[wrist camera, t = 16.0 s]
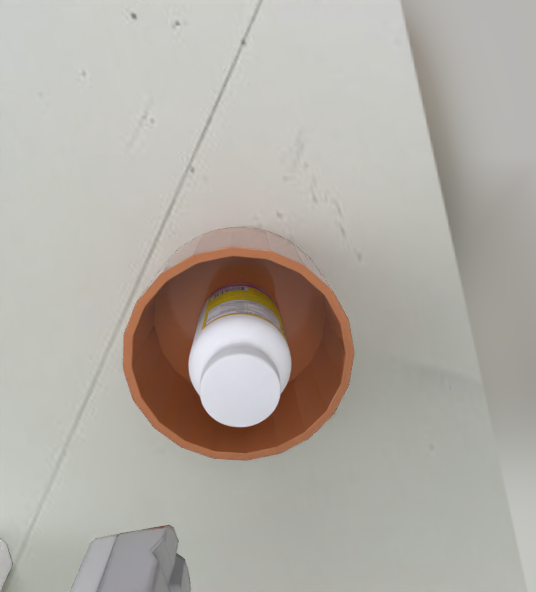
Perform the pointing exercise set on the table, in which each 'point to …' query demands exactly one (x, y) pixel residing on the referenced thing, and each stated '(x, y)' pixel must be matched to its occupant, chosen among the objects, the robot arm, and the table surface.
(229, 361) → the supplement bottle
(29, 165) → the table surface
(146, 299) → the terracotta round pot
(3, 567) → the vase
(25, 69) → the table surface
